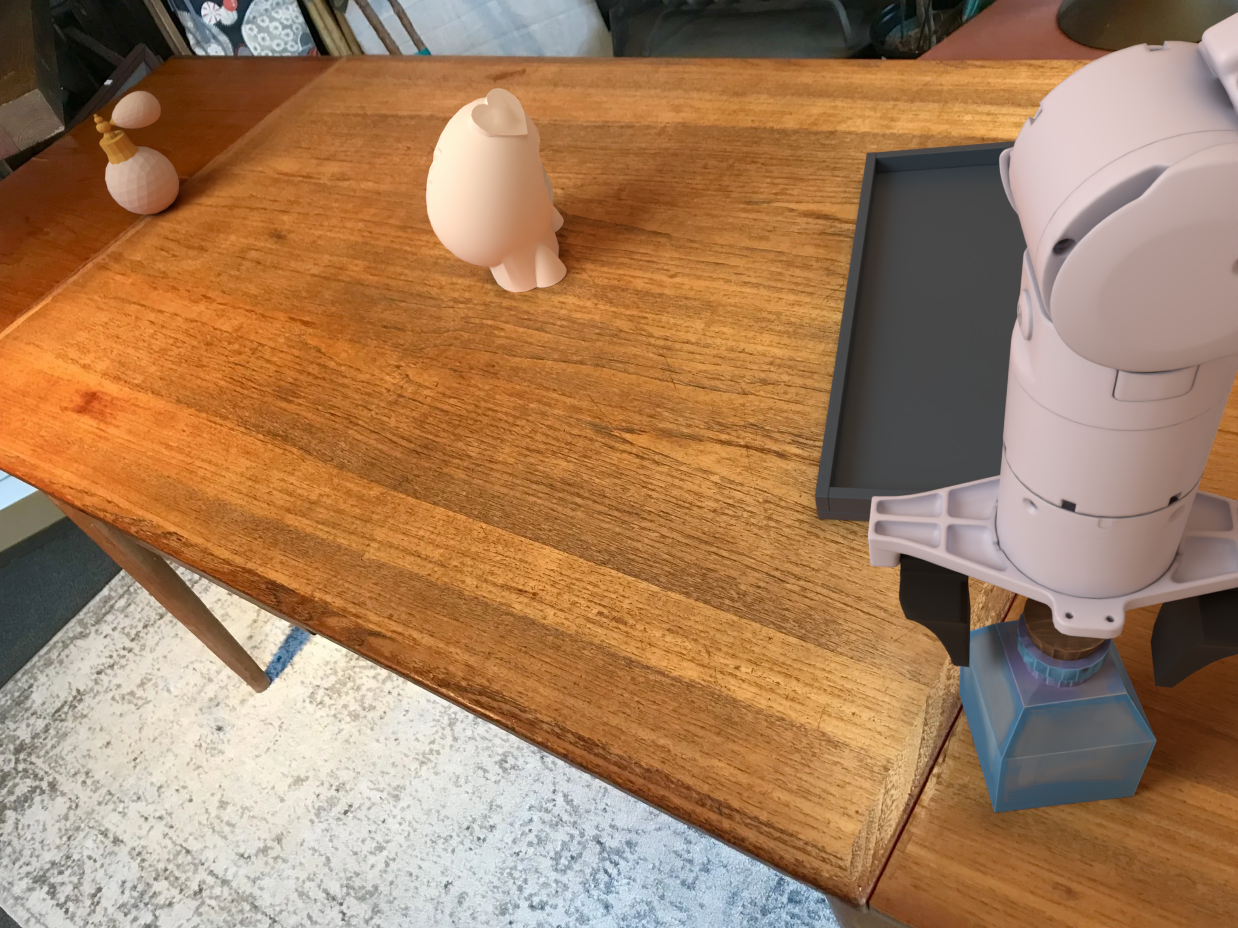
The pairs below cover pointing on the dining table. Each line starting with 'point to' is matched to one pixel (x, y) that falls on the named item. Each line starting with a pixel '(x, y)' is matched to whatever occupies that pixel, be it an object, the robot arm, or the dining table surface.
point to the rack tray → (923, 329)
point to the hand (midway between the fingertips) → (1058, 654)
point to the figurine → (496, 194)
